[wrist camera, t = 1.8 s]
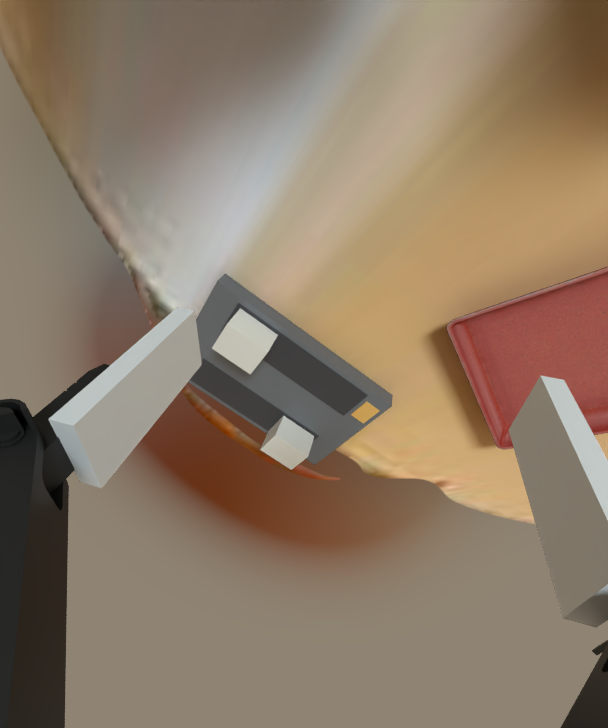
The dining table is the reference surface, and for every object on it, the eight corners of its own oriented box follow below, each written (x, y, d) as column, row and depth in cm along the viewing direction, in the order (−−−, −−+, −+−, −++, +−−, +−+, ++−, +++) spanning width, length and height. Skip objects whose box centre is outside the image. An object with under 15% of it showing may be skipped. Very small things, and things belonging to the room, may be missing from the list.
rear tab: (268, 430, 49) (260, 449, 47) (283, 415, 47) (275, 435, 44) (298, 449, 50) (291, 469, 47) (314, 436, 48) (308, 456, 45)
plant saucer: (493, 432, 44) (498, 453, 41) (441, 308, 36) (443, 324, 34) (693, 392, 35) (716, 416, 33) (678, 221, 28) (705, 234, 25)
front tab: (225, 332, 41) (211, 348, 39) (240, 308, 39) (227, 323, 36) (261, 356, 42) (250, 374, 39) (278, 335, 40) (268, 352, 37)
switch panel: (176, 361, 49) (168, 370, 47) (225, 273, 40) (217, 281, 38) (317, 454, 53) (314, 465, 51) (392, 395, 44) (391, 406, 42)
